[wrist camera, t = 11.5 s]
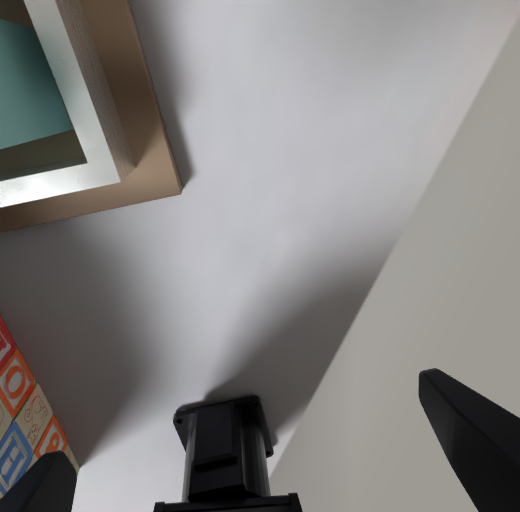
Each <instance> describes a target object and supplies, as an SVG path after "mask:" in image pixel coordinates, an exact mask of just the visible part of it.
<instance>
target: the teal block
mask: <svg viewBox="0 0 520 512" xmlns="http://www.w3.org/2000/svg"><path fill="white" fill-rule="evenodd" d="M69 130H73V126H72V124H71V121H70V119H69V116H68V114H67V111H66V109H65V106H64V104H63V101H62V99H61V96H60V93H59V91H58V88H57V86H56V83H55V81H54V78H53V76H52V73H51V71H50V68H49V66H48V63H47V61H46V58H45V56H44V53H43V50H42V48H41V45H40V43H39V40H38V38H37V35H36V33H35V30H34V29H31V28H28V27H25V26H22V25H18V24H15V23H12V22H9V21H6V20H3V19H0V149H3V148H7V147H11V146H14V145H18V144H22V143H25V142H29V141H33V140H36V139H40V138H44V137H47V136H51V135H54V134H58V133H62V132H65V131H69Z"/></svg>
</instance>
